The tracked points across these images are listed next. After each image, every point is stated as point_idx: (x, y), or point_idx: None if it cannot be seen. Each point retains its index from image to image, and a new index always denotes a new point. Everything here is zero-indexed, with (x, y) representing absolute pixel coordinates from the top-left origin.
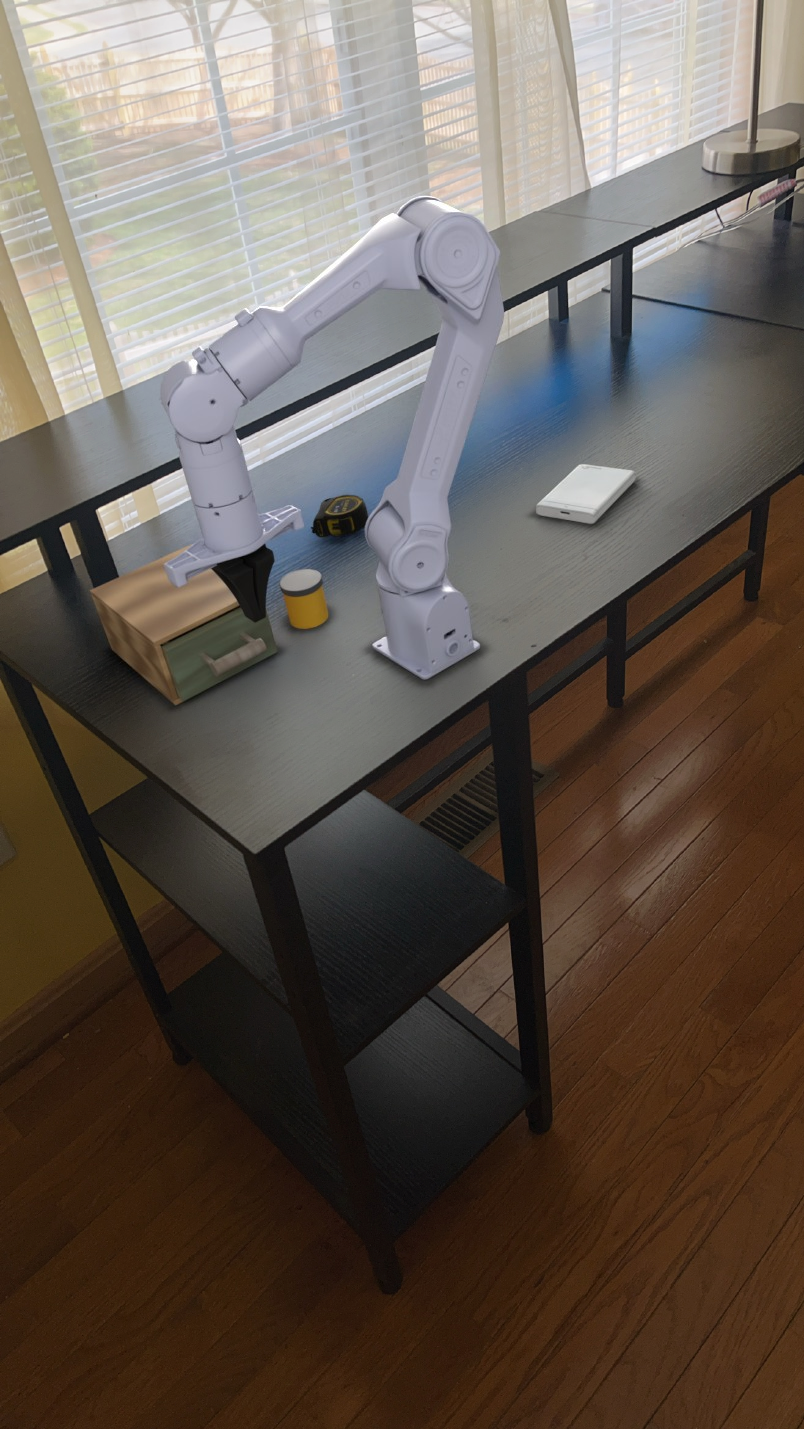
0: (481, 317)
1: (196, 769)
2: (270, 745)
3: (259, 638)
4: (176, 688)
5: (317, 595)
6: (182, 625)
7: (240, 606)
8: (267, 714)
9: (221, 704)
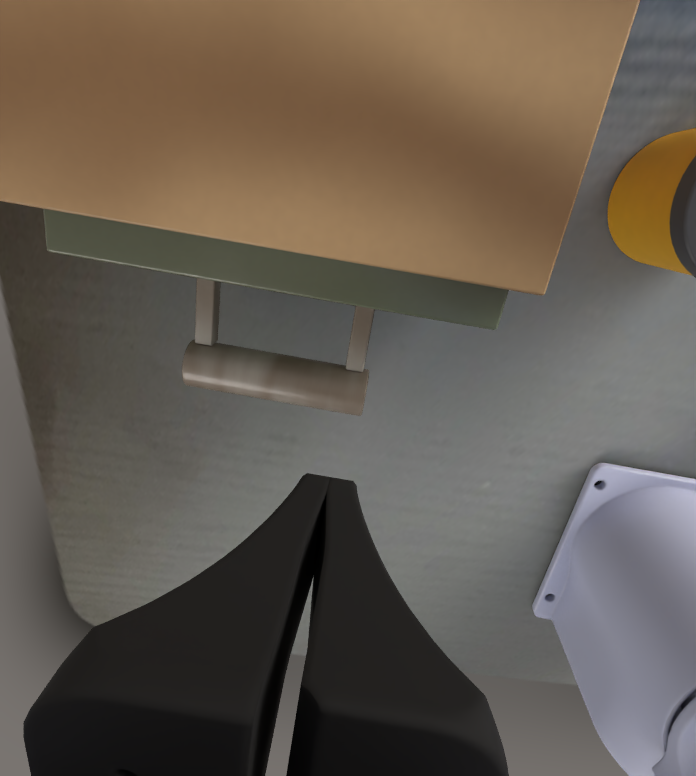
0: None
1: (82, 429)
2: (223, 495)
3: (361, 399)
4: None
5: None
6: (144, 205)
7: (291, 492)
8: (281, 425)
9: (237, 305)
